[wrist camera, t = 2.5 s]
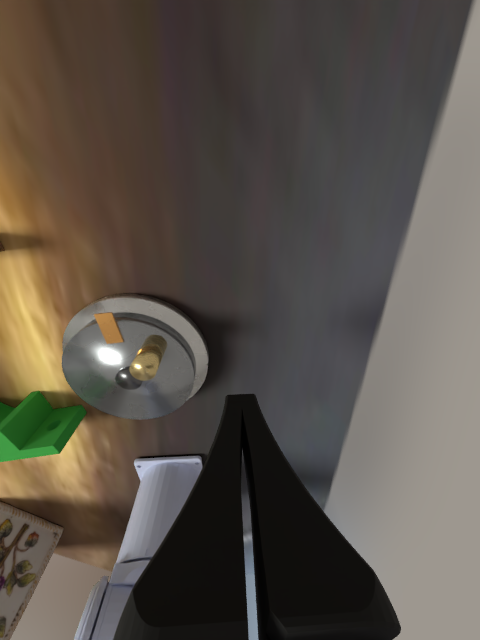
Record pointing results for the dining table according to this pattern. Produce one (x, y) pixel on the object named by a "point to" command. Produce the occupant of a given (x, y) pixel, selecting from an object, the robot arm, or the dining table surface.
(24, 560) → the decorative jar
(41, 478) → the dining table surface
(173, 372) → the index disc
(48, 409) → the pipe clamp
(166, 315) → the base plate
